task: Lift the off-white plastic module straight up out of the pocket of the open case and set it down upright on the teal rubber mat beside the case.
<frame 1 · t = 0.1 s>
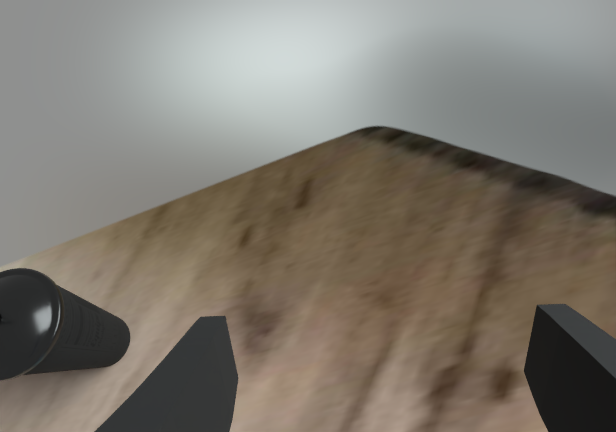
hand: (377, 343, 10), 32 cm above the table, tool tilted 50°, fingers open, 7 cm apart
drinking cup: (106, 341, 43), on the table
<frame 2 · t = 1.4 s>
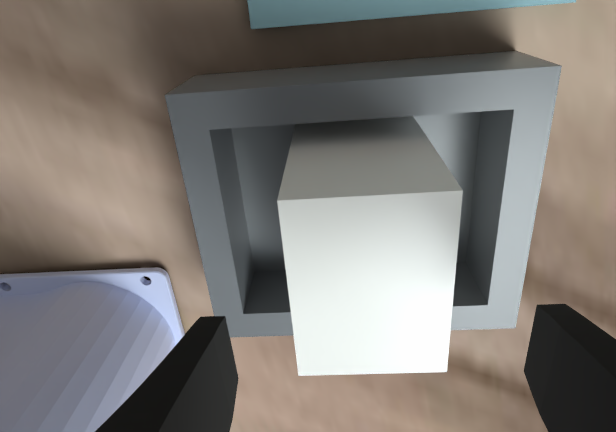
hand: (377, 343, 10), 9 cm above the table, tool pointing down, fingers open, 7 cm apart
case: (355, 186, 19), on the table
module: (355, 190, 18), resting on case
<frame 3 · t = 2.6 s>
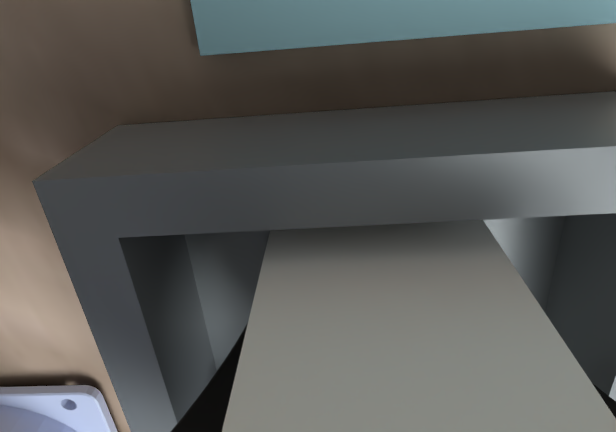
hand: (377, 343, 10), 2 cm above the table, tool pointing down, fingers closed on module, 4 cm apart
case: (368, 283, 13), on the table
module: (370, 293, 12), resting on case, touching gripper
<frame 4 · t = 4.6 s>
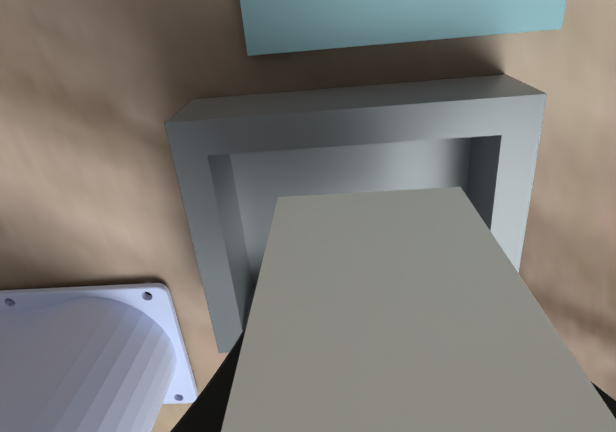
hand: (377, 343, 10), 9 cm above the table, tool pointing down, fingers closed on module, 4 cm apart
case: (350, 203, 19), on the table
module: (369, 289, 12), point 7 cm above the table, touching gripper
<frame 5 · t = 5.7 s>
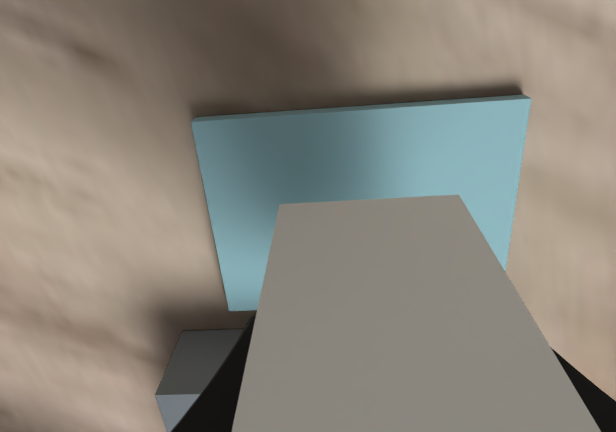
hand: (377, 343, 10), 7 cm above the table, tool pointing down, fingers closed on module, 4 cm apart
case: (323, 405, 22), on the table
module: (369, 293, 13), point 5 cm above the table, touching gripper
mat: (358, 212, 17), on the table
when the fingers open (4 cm above the table, at t = 6.6 s): module drops 1 cm, resting on mat.
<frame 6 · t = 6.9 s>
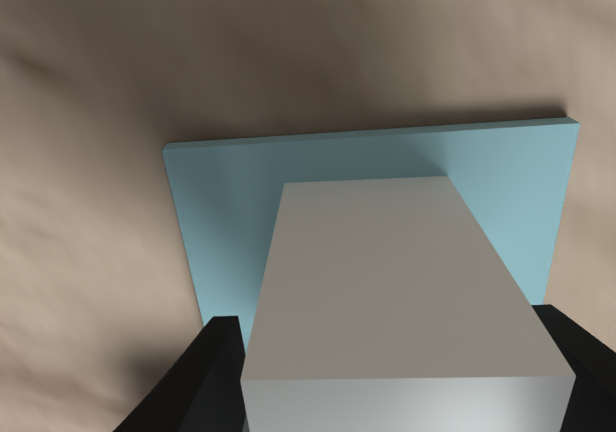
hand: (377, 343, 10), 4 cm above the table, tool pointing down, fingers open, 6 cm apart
module: (365, 269, 14), point 1 cm above the table, touching mat
mat: (364, 253, 14), on the table
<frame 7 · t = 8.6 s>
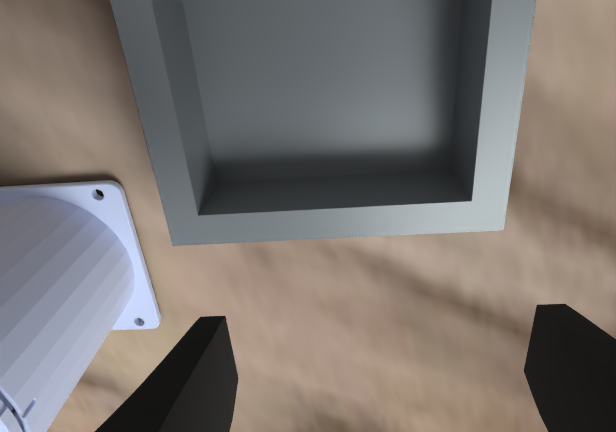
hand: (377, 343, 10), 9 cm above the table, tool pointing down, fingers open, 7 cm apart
case: (325, 78, 17), on the table
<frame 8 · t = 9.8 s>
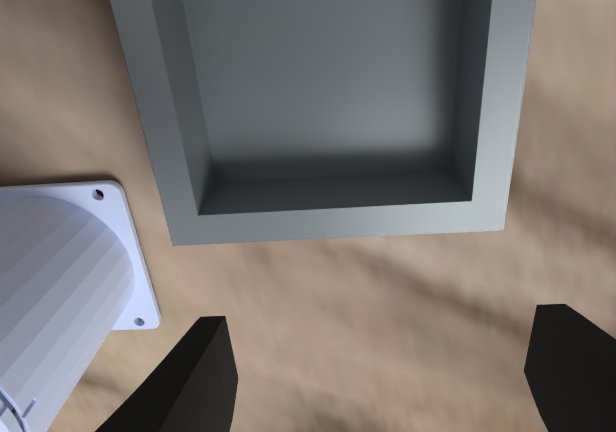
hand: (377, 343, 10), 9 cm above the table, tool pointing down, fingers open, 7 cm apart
case: (325, 78, 17), on the table
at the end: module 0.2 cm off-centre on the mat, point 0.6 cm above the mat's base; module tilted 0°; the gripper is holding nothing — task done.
